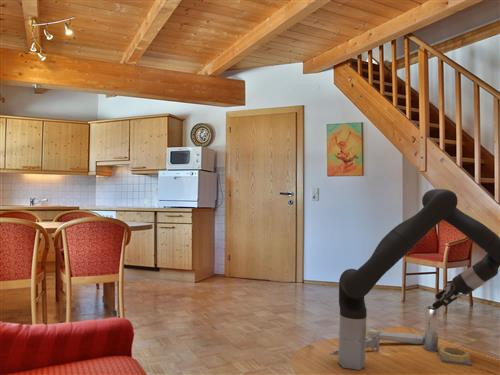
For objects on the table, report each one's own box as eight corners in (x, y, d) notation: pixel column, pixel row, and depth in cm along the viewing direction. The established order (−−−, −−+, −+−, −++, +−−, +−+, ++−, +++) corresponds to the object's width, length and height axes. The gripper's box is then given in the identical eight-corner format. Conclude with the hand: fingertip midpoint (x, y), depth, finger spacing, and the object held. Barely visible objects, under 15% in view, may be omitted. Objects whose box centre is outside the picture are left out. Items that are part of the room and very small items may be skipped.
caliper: (377, 350, 160) (378, 334, 160) (379, 352, 159) (379, 335, 159) (330, 354, 155) (330, 337, 155) (331, 355, 154) (331, 338, 154)
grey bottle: (438, 352, 160) (440, 309, 160) (425, 350, 161) (426, 308, 162) (436, 347, 165) (437, 306, 165) (423, 346, 166) (424, 304, 167)
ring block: (471, 365, 148) (472, 358, 148) (442, 361, 151) (442, 354, 151) (465, 355, 157) (465, 348, 158) (437, 352, 160) (437, 345, 160)
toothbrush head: (426, 336, 167) (369, 329, 163) (423, 353, 167) (366, 345, 163) (419, 332, 172) (363, 324, 168) (416, 348, 172) (361, 341, 168)
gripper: (463, 266, 162) (431, 287, 171) (459, 279, 151) (425, 302, 159) (477, 280, 161) (444, 302, 169) (475, 295, 149) (440, 318, 157)
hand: (435, 302), depth 164 cm, fingers open, 8 cm apart
